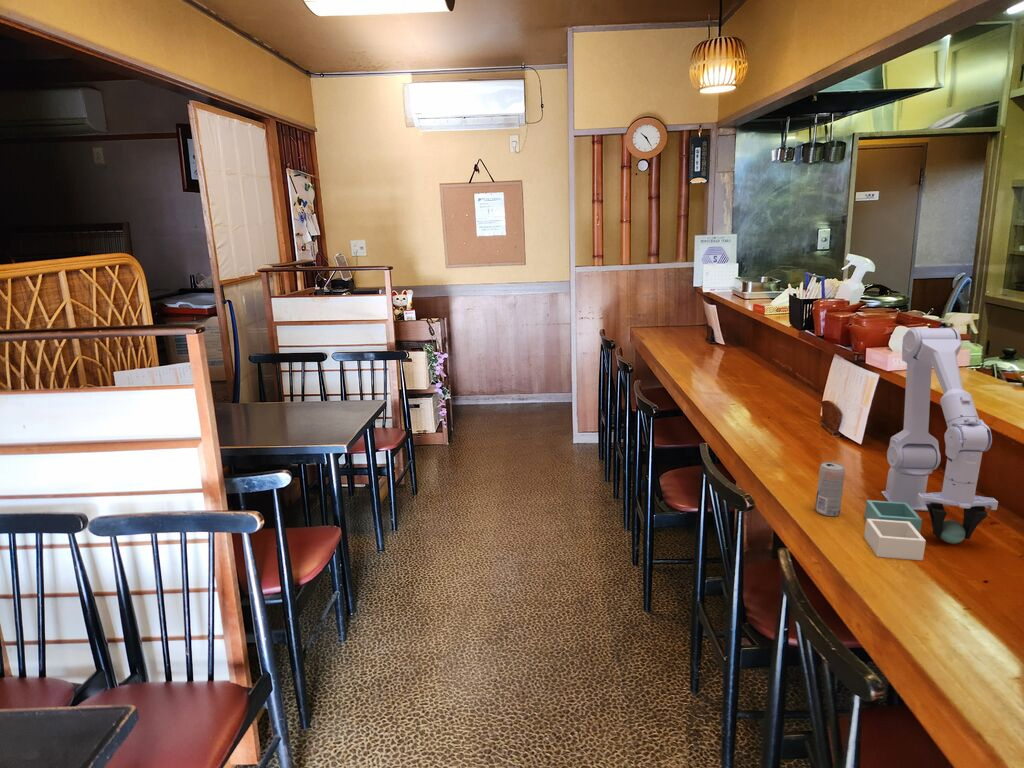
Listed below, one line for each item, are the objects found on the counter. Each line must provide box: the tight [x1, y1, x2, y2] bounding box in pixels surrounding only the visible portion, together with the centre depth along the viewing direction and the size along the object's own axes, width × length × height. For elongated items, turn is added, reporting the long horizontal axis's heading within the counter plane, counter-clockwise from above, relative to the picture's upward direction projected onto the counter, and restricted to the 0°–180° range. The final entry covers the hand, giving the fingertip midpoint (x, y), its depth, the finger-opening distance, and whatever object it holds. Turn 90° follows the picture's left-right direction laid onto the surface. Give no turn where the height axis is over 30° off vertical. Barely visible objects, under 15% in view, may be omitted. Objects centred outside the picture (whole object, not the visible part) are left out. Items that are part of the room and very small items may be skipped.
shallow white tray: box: [863, 519, 927, 561], centre depth 134 cm, size 9×9×4 cm
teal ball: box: [939, 519, 966, 544], centre depth 136 cm, size 5×5×5 cm
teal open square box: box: [864, 499, 923, 534], centre depth 143 cm, size 9×9×4 cm
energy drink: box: [814, 461, 846, 517], centre depth 150 cm, size 5×5×12 cm
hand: (950, 536), depth 136 cm, fingers closed on teal ball, 5 cm apart
